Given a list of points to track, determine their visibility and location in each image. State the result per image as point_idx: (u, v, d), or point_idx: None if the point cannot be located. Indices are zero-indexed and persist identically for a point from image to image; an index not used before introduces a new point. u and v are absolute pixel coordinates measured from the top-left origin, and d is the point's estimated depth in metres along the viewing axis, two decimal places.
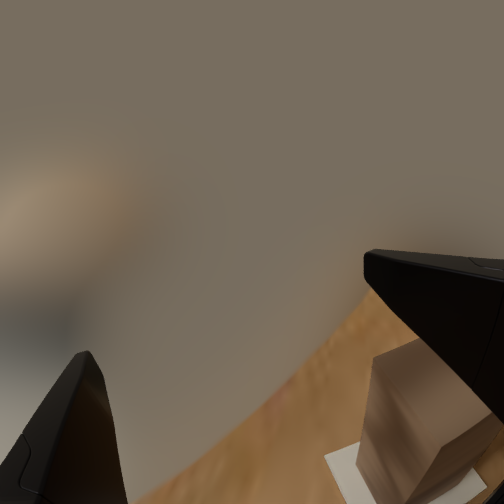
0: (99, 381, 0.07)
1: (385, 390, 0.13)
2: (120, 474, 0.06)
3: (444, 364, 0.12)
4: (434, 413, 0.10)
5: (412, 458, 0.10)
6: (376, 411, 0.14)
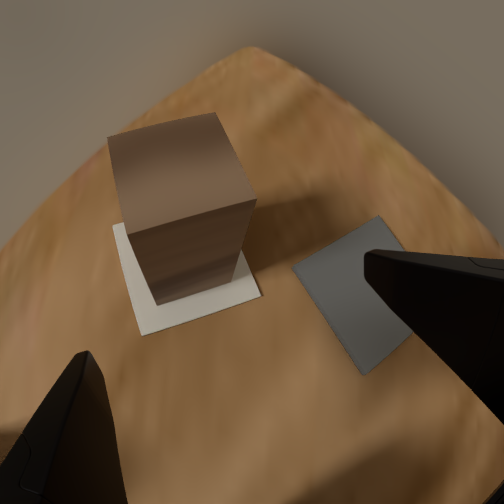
0: (99, 381, 0.07)
1: None
2: (120, 474, 0.06)
3: (169, 154, 0.14)
4: (134, 199, 0.13)
5: None
6: None
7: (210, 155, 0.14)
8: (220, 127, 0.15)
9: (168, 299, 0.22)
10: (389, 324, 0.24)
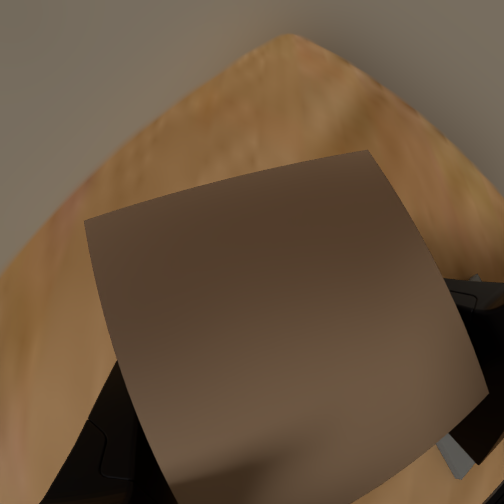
0: None
1: None
2: None
3: (291, 291, 0.05)
4: (211, 469, 0.04)
5: None
6: None
7: (396, 289, 0.05)
8: (393, 196, 0.06)
9: None
10: None
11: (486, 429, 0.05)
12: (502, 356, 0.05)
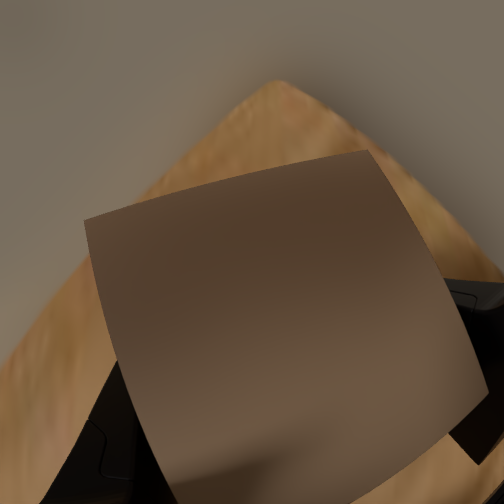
0: None
1: None
2: None
3: (291, 291, 0.05)
4: (211, 469, 0.04)
5: None
6: None
7: (396, 289, 0.05)
8: (393, 195, 0.06)
9: None
10: None
11: (486, 429, 0.05)
12: (502, 356, 0.05)
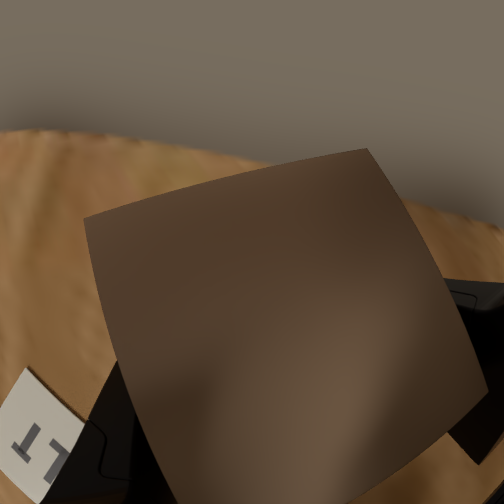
0: None
1: None
2: None
3: (290, 288, 0.05)
4: (210, 467, 0.04)
5: None
6: None
7: (395, 287, 0.05)
8: (392, 194, 0.06)
9: None
10: None
11: (486, 429, 0.05)
12: (502, 356, 0.05)
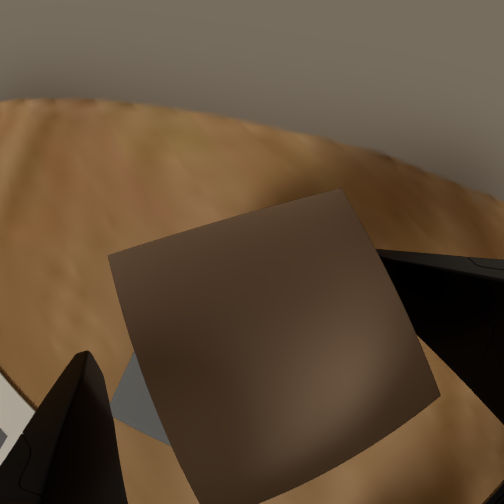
0: (99, 381, 0.07)
1: None
2: (120, 474, 0.06)
3: (270, 311, 0.06)
4: (208, 445, 0.05)
5: None
6: None
7: (356, 309, 0.07)
8: (360, 229, 0.07)
9: None
10: None
11: None
12: None
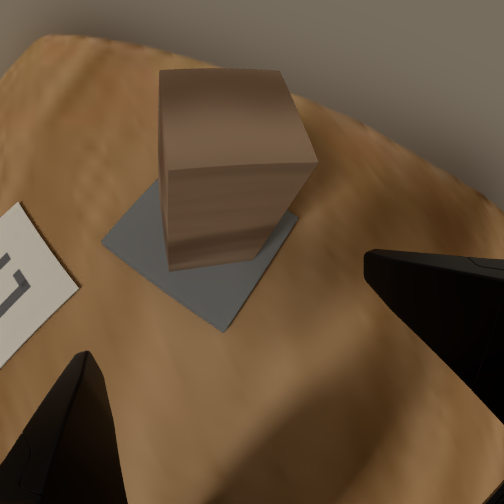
0: (99, 381, 0.07)
1: (160, 105, 0.13)
2: (120, 474, 0.06)
3: (227, 98, 0.12)
4: (182, 135, 0.11)
5: (165, 185, 0.13)
6: (159, 130, 0.15)
7: (271, 109, 0.13)
8: (284, 85, 0.13)
9: (183, 267, 0.20)
10: (234, 263, 0.22)
11: None
12: None
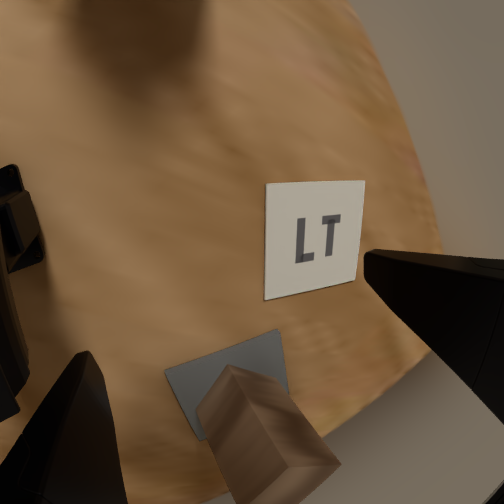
0: (99, 381, 0.07)
1: (323, 456, 0.19)
2: (120, 474, 0.06)
3: (299, 488, 0.18)
4: (298, 472, 0.17)
5: (282, 438, 0.19)
6: (312, 437, 0.21)
7: (279, 501, 0.18)
8: None
9: (223, 376, 0.25)
10: (201, 399, 0.26)
11: None
12: None
